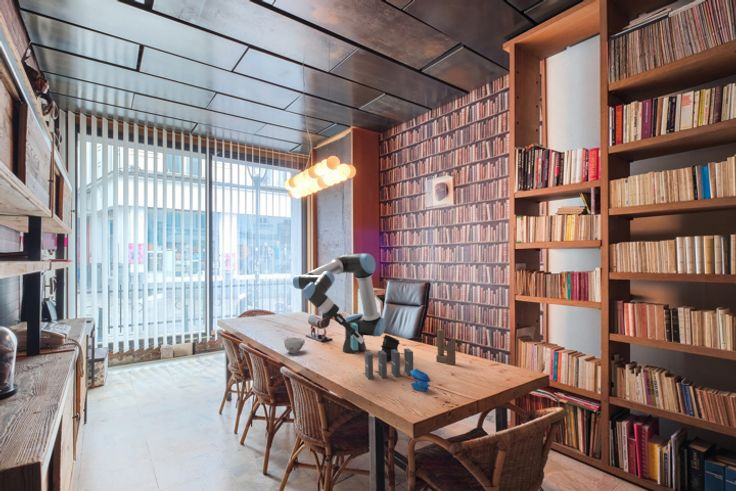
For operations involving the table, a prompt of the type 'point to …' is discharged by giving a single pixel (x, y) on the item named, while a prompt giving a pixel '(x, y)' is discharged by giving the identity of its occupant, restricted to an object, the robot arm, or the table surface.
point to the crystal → (420, 380)
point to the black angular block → (389, 346)
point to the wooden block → (445, 349)
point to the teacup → (294, 344)
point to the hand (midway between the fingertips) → (361, 339)
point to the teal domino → (353, 340)
